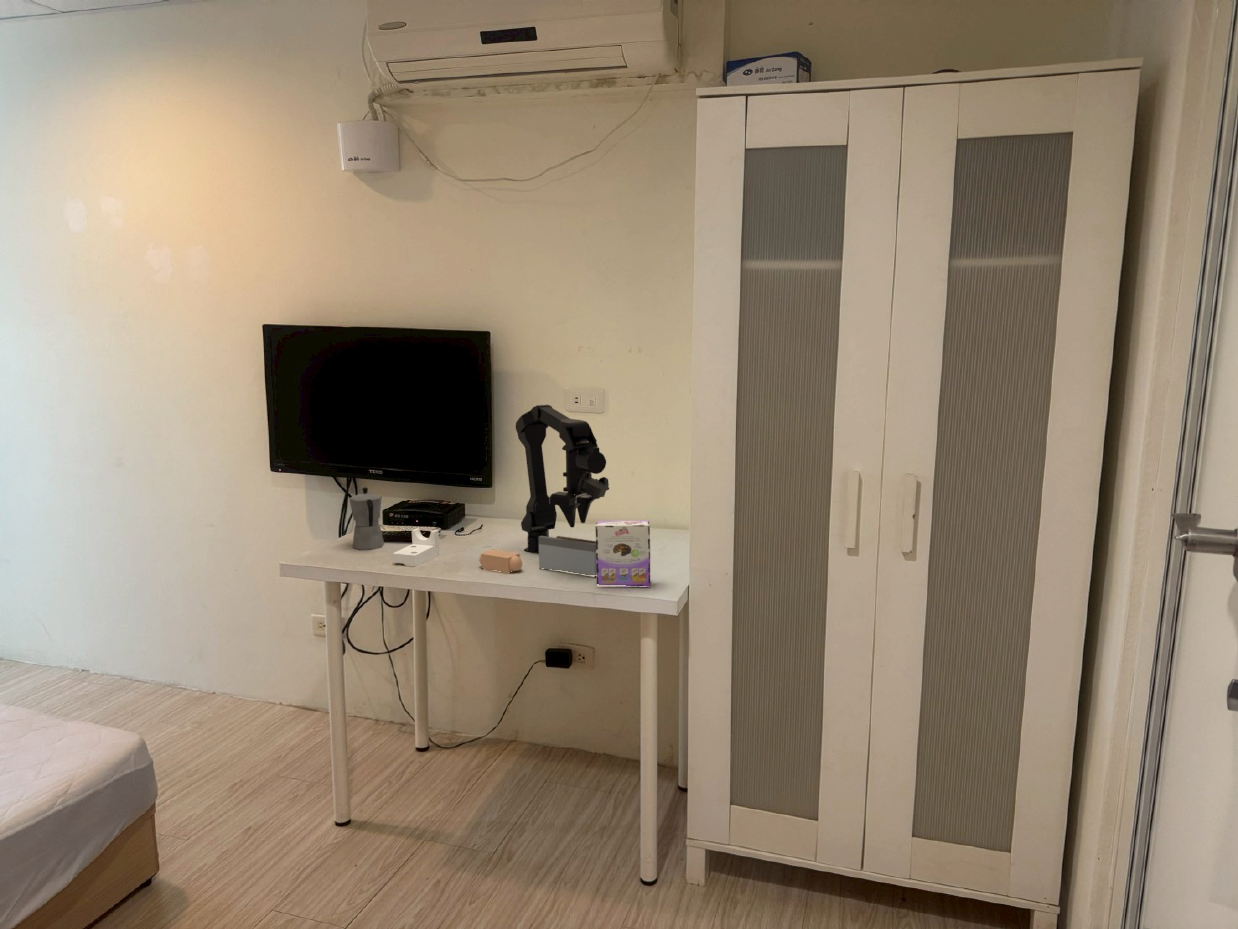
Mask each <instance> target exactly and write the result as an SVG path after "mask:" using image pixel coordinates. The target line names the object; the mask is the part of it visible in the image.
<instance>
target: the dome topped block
mask: <svg viewBox="0 0 1238 929" xmlns="http://www.w3.org/2000/svg"><path fill="white" fill-rule="evenodd" d="M520 554H521V553H519V552H513V551H507V550H501V549H499V550H498V549H491V550H487V551H483V552H482V553H481V554H480V556H479V560H478V561H479V563H480V565H481V569H482V568H483V569H488V570H487V571H489V570H497V571H501V572H505V573H504V574H506V573H509V572H511V571H517V572H519V571H520V570H521V569H522V567H523V561H522V558H520V557H521V555H520ZM483 569H482V570H483ZM501 572H500V573H501ZM509 574H510V573H509Z"/></svg>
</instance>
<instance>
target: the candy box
mask: <svg viewBox="0 0 1238 929" xmlns="http://www.w3.org/2000/svg"><path fill="white" fill-rule="evenodd" d="M595 523H596V524H595V526H594V528H595V529H594V530H595V541H596V574H597V577H596V584H599V585H626V586H650V587H651V527H650V526H651V525H650V520H649V519H648V520H647V519H646V520H644V519H643V520H641V519H640V520H596V522H595Z"/></svg>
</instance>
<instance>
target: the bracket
mask: <svg viewBox="0 0 1238 929" xmlns="http://www.w3.org/2000/svg"><path fill="white" fill-rule="evenodd" d="M439 540H440V539H439V530H438V529H434V530H432V531H430V535H429V537H425V536H423V535H422V533H421V531H420V528H418V527H417V528H415V529H413V530H411V541H412V544H410V545H407V546H405V547H403V548H401V549H399V550H397V551H394V552H393V553H392V563H394V564H395V563H396V564H404V565H413V566H416V565H419V566H420V565H422V564H424V563H426V562H428V561H431V559H434V558H435V556H436V557H438V556H439V555H440V541H439ZM437 555H438V556H437ZM427 560H428V561H427ZM425 561H426V562H425ZM423 562H424V563H423ZM421 563H422V564H421Z"/></svg>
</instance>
